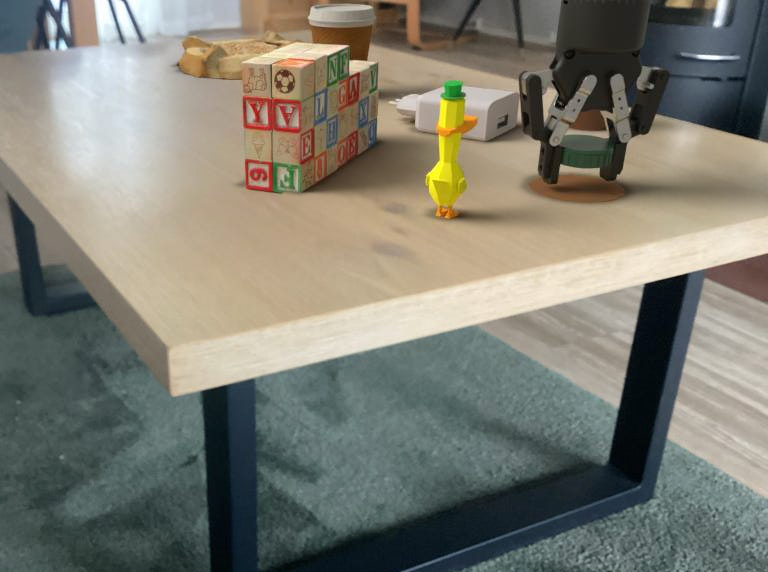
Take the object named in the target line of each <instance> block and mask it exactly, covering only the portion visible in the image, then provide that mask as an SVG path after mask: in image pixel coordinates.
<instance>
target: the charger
mask: <svg viewBox="0 0 768 572" xmlns="http://www.w3.org/2000/svg"><path fill="white" fill-rule="evenodd" d="M444 92H445V88H444V86H441V87H439V88H436V89H435V88H434V89H433V90H431V91H427V92H425V93H423V94H417V93H416V94H415V93H411V94H408V95H405V96H403V97H402V98H401V99H400V98H396V99H395V101H392V100H389V101H388V105H389V106H396V108H395V109H396V112H397V113H399V114H400V115H401V116H404V117H412V118H415V119H414V120H415V121H414V127H415V128H416V129H417V131H418V132H421V133H425V134H434V135H439V134H438V133H437V131H436V127H437V123H438V120H439V116H440V103H441V99H442V98H441V97H440V95H441V94H442V93H444ZM461 92H464V93H465V94H466V97H464V98H465V99H466V101H465V112H464V115H469V116H476V117H478V121H477V124H476V126H475V127H474V128H473V129H472V130H470V131H469V132H467V133H465V134H462V137H461V139H465V140H472V141H479V142H486V143H487V142H488V141H490V140H492V139H494V138H497V137H499V136H500V135H502V134H505V133H507V132H508V131H510V130H512V129H514V128H516V126H517V124H518V123H517V122H518V116H519V115H518V113H519V107H520V92H519V91H509V90H503V89H502V90H501V89H495V88H494V89H493V88H484V87H478V86H477V87H476V86H467V85H462V90H461Z"/></svg>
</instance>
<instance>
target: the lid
mask: <svg viewBox="0 0 768 572" xmlns="http://www.w3.org/2000/svg"><path fill="white" fill-rule="evenodd" d="M605 138H606V137H601V136H596V135H589V134H565V136H564V137H563V139H562V141H561V143H560V144H559V145H560V146H562V147H563V149H562V156H561V163H560V166H561V165H562V166H565V167H569V168H576V169H600V168H602V167H606V166H608V165H610V164H611V163H612V160H613V155H614V143H612V142H611V141H609V140H607V139H605Z"/></svg>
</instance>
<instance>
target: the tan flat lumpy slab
mask: <svg viewBox="0 0 768 572" xmlns="http://www.w3.org/2000/svg"><path fill="white" fill-rule="evenodd" d="M296 42H297V43H307V42H306V41H305V40H303V39H295V40H292V41H290V40H286V38H285V37H284V36H282V35H280V33H278V32H275V31H273V30H271V29H267V30H266V31H265V34H264V35H262V39H260V38H250V39H249V38H238V39H228V40H222V41H221V40H220V41H213V42H211V41H207V40H205V39H203V38H201V37H198V36H196V35H193V34H192V35H189V36H188V37H186V38H185V39H184V40H183V41H182V42H181V46H182V48H183V49H184V51H183V54H182V55H181V58H180V59H179V61H177V63H176V65H175V66H177V67H179V69H180V70H181V71H182V72H183V73H184V74H186V75H191V76H193V77H195V78H208V79H209V78H210V79H218V80H219V79H226V80H242V62H244V61H247V60H249V59H252V58H255V57H259V56H262V55H264V54H267V53H270V52H273V51H274V50H276V49H279V48H282V47H285V46H288V45H290V44H293V43H296Z"/></svg>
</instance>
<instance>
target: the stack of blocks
mask: <svg viewBox="0 0 768 572" xmlns="http://www.w3.org/2000/svg"><path fill="white" fill-rule="evenodd" d="M349 56H350V46H348V45H329V44H313V43H311V42H310V43H309V42H306V43H297V42H296V43H293V44H290V45H288V46H285V47H282V48H279V49H276V50H274V51H273V52H270V53H267V54H264V55H262V56H259V57H255V58H252V59H249V60H247V61H244V62H242V79H241V81H242V94H243V95H242V123H243V124H242V126H243V137H244V172H245V173H244V176H245V177H244V178H245V179H244V181H245V188H246V189H248V190H256V191H263V192H271V193H273V192H274V193H278V194H283V193H284V192H285V191H287V192H294V193H303V192H304V191H306V190H307V189H309V188H310V187H312V186H314V185H316V184H317V183H318V182H320V181H322V180H323V179H325V178H327V177H328V176H330V175H331V174H332V173H334V172H335V171H337V170H338V168H340V167H342V166H343V165H345V164H346V163H348V161H350V160H351V159H353V158H355V157H356V156H358V155H360V154H361V153H363V152H365V151H366V150H368V149H369V148H371V147H372V146H373V145H374V144H376V143H377V140H378V139H377V137H378V135H377V134H378V115H379V90H378V86H379V85H378V84H379V61H371V60H370V61H369V60H367V61H359V60H349Z"/></svg>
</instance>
